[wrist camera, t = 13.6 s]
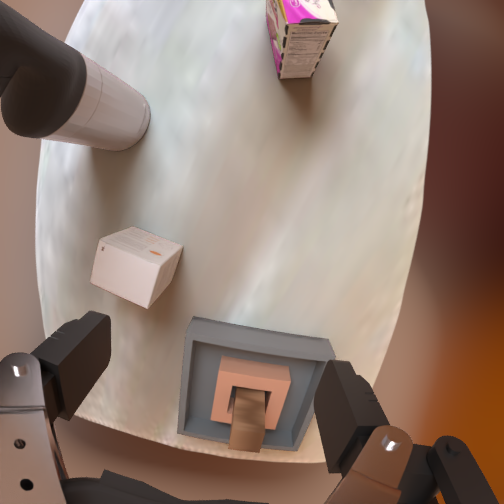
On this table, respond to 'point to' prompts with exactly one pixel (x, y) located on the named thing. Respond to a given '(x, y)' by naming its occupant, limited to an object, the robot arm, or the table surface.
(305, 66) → the candy bar box
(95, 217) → the table surface
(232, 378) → the walled bin
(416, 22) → the table surface
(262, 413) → the walnut peg
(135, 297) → the small box
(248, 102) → the table surface
